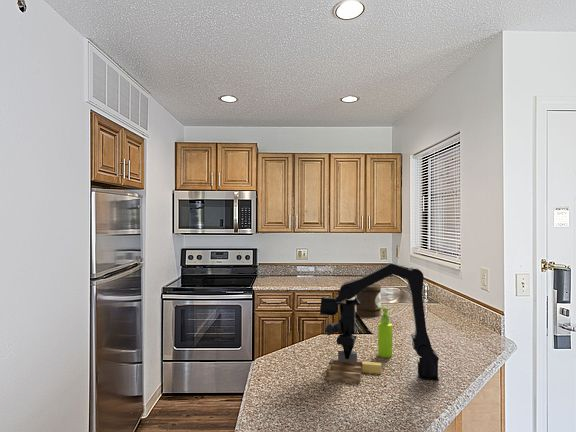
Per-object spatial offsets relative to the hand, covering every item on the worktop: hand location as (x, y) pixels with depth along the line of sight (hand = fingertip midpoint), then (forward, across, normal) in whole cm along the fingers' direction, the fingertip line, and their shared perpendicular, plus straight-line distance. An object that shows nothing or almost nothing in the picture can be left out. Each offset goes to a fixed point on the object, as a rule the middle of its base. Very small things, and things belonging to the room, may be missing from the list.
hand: (347, 357), depth 157 cm
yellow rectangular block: (+5, -2, +9) cm, 11 cm away
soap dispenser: (+5, -24, +13) cm, 28 cm away
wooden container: (+6, -102, +3) cm, 102 cm away
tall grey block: (+1, 0, 0) cm, 1 cm away
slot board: (+5, +3, -1) cm, 6 cm away
